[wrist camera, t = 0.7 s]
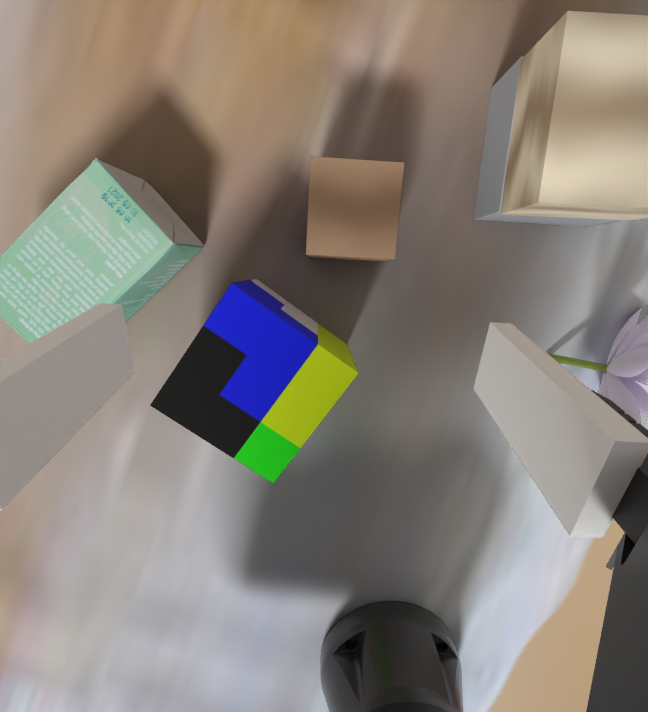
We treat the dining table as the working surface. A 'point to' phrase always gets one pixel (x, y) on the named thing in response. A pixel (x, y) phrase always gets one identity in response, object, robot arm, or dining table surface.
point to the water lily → (624, 368)
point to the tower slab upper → (582, 121)
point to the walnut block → (353, 209)
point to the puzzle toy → (257, 378)
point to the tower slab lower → (498, 157)
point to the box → (93, 252)
